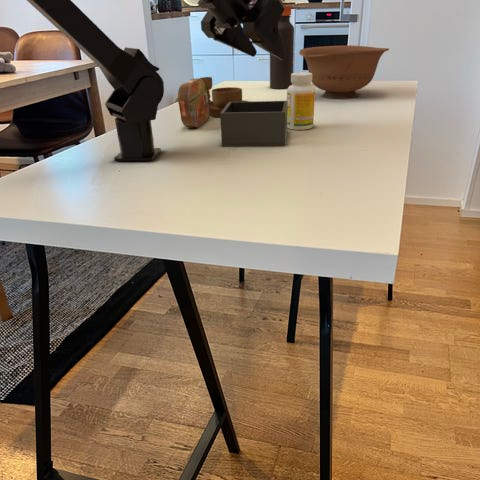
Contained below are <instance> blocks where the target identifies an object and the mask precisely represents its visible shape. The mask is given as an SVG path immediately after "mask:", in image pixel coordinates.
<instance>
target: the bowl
mask: <svg viewBox="0 0 480 480" xmlns="http://www.w3.org/2000/svg"><path fill="white" fill-rule="evenodd" d="M388 51H390V48H388V47H375V46H374V47H373V46H366V45H352V44H351V45H327V46H315V47H314V46H313V47H306V48H305V47H304V48H301V49H299V52H298V54H299V55H300V56H302V57H303V58H304V60H305V61H306V64H307V70H308V71H307V72H308V73H312V82H311V84H312V85H313V86H314V87H316V88H318V89H319V90H321V91H324V93H322V97H323V98H327V99H350V98H355V97H358V93H357V92H356V91H358V90H361V89H363V88H365V87H366V86H368V85H369V84H370V83H371V82H372V80H373V79H374V76H375V74H376V72H377V67H378V65H379V63H380V62H379V61H380V59H381V57H382V56H383V54H384V53H385V52H388Z"/></svg>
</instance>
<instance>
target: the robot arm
mask: <svg viewBox="0 0 480 480" xmlns="http://www.w3.org/2000/svg"><path fill="white" fill-rule="evenodd" d="M26 1H27V2H28V3H29V4H30V5H31V6H32V7H33V8H34V9H35V10H36V11H38V12H39V13H40V14H41V15H42V16H43V17H44V18H45V19H46V20H48V22H49V23H50V24H52V25H53V26H54V27H55V28H56V29H57V30H58V31H59V32H60V33H61V34H63V35H64V36H65V37H66V38H67V39H68V40H69V41H70V42H71V43H72V44H73V45H75V46H76V47H77V48H78V49H79V50H80V51H81V52H82V53H83V54H85V56H87V57H88V58H89V59H90V60H91V61H92V62H93V63H94V64H96V66H97V67H98V68H99V69H100V71H101V72H102V74H103V75H104V77H105V79H106V81H107V82H108V83H109V85H110V86H111V87H112V89H113V91H112V92H111V94H110V95H109V97H108V98H107V100H106V101H105V103H104V105H105V108H106V109H107V111H108V113H109V115H110V116H111V117H115V118H114V122H115V128H116V135H117V140H118V146H119V153H118V154H117V155H115V156H114V157H113V161H114V162H150V161H154V159H155V158H156V157H157V156H158V155H159V154H160V153H161V152H162V148H161V147H155V142H154V136H153V126H152V121H154V120H155V121H156V119H157V113H158V109H159V104H160V103H161V102H162V100H163V98H164V93H165V85H164V84H165V82H164V80H163V77H161V75H160V73H158V71H160V67H158V66H157V65H154V64H152V63H151V62H150V61H149V59H148V57H147V56H146V55H145V54H144V52H143V51H142V50H141V49H140V48H133V47H126V46H125V47H124V49H122V48H121V47H119V46H118V45H117V44H116V42H114V41H113V40H112V39H111V38H110V37H109V36H108V35H107V34H106V33H105V32H104V31H103V30H102V29H101V28H100V27H98V25H97V24H95V22H94V21H93V20H91V19H90V18H89V17H88V16H87V15H86V13H84V12H83V10H81V9H80V8H79V6H77V5H76V4H75V3H74V2H73V1H72V0H26ZM252 2H253V0H198V2H197V5H198V6H199V7H200V8H201V9H207V10H206V13H205V15H204V16H203V17H202V19H201V21H200V30H201V31H202V33H203V35H205V36H206V37H207V38H208V39H212V40H214V41H215V42H218V43H221V44H223V45H226V46H227V47H230V48H232V49H234V50H236V51H238V52H241V53H243V54H246V55H248V56H250V57H252V58H254V57H255V56H256V55H257V54H258V52H257V49H256V47H258V48H260V49H262V50H263V51H265V52H267V53H268V54H269V55H270V54H272V55H274V56H275V57H277V58H279V59H281V60H283V59H284V58H285V57H286V52H285V48H284V45H283V42H282V39H281V36H280V32H279V28H278V23H279V20H280V18H281V16H282V13H283V12H284V10H285V6H286V5H285V4H284V3H283V2H282V0H256V1H255V2H254V4H253V6H250V3H252ZM255 46H256V47H255Z"/></svg>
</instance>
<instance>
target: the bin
mask: <svg viewBox="0 0 480 480" xmlns="http://www.w3.org/2000/svg"><path fill="white" fill-rule="evenodd" d="M287 110H288V101H287V100H255V101H253V100H252V101H250V102H229V103H228V104H227V105H226V106H225V108H224V109H223V110H222V112H221V113H220V116H219V119H220V136H221V137H220V138H221V147H285V146H286V142H287V136H288V128H287Z"/></svg>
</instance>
